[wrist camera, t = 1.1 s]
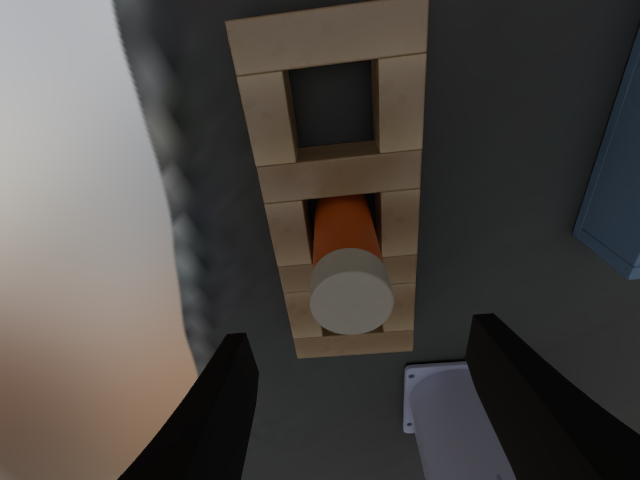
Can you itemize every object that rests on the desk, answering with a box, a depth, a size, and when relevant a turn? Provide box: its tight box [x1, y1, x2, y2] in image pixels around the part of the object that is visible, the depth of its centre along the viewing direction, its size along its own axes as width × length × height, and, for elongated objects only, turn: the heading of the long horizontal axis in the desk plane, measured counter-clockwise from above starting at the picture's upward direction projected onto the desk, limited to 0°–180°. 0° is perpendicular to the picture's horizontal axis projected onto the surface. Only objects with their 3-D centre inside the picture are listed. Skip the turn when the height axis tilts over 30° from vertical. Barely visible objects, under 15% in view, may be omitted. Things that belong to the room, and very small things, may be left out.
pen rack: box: [225, 0, 429, 359], centre depth 19 cm, size 20×8×3 cm, turn 6°
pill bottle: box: [310, 194, 394, 335], centre depth 17 cm, size 3×3×8 cm
